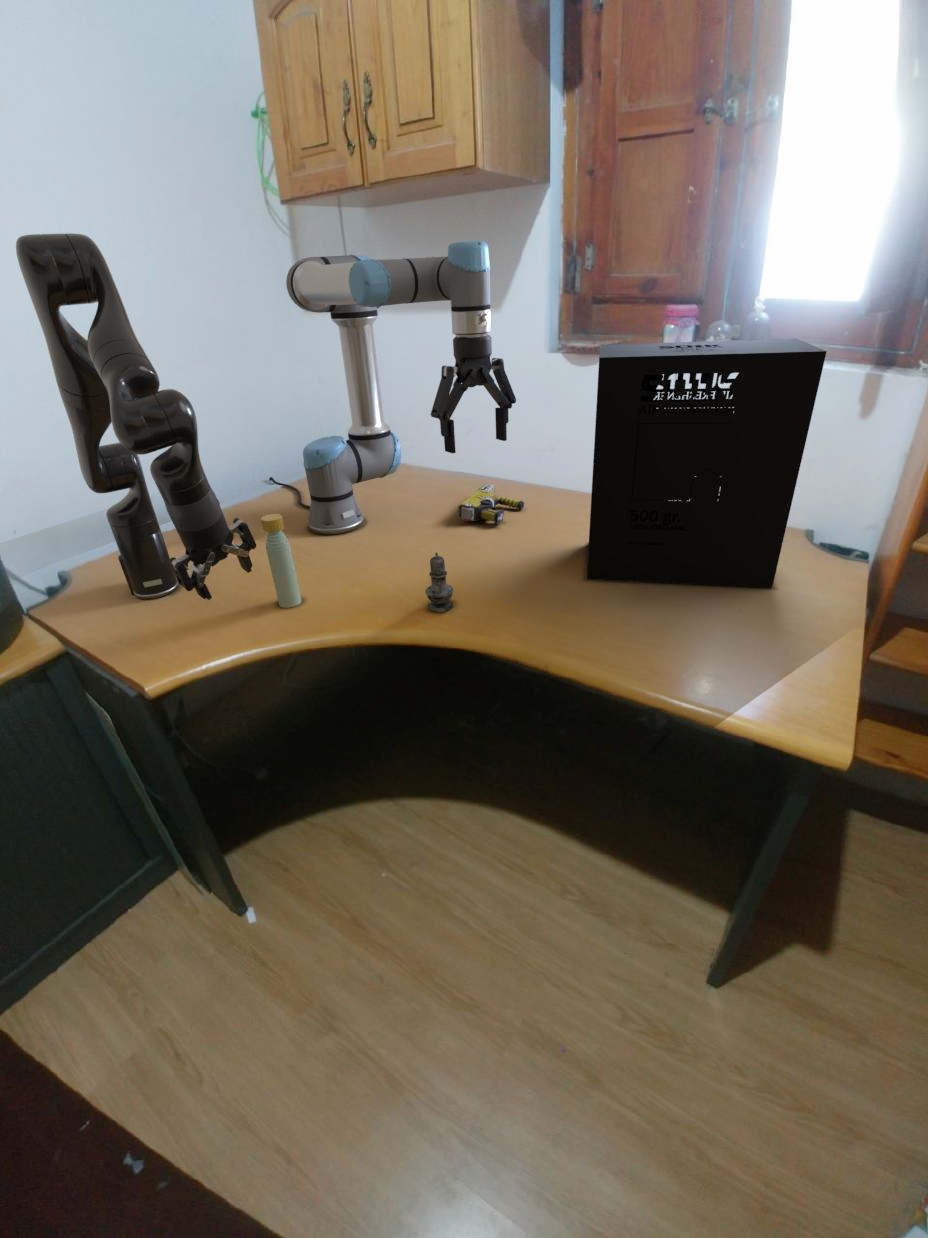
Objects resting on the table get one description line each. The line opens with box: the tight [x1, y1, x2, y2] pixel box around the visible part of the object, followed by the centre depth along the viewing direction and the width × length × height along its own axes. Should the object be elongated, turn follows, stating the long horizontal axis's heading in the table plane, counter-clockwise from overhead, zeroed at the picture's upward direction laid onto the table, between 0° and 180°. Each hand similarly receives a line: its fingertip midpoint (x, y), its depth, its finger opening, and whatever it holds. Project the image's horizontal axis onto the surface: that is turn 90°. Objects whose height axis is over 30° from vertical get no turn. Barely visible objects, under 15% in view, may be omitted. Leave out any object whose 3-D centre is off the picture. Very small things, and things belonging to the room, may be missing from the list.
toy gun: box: [457, 482, 525, 525], centre depth 171 cm, size 5×24×15 cm
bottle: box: [265, 529, 302, 609], centre depth 126 cm, size 5×5×19 cm
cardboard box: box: [586, 338, 828, 589], centre depth 126 cm, size 38×20×45 cm, turn 78°
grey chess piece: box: [424, 552, 455, 613], centre depth 122 cm, size 6×6×12 cm
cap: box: [260, 513, 285, 533], centre depth 121 cm, size 4×4×2 cm
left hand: (227, 583), depth 108 cm, fingers open, 8 cm apart
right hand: (476, 445), depth 127 cm, fingers open, 13 cm apart
